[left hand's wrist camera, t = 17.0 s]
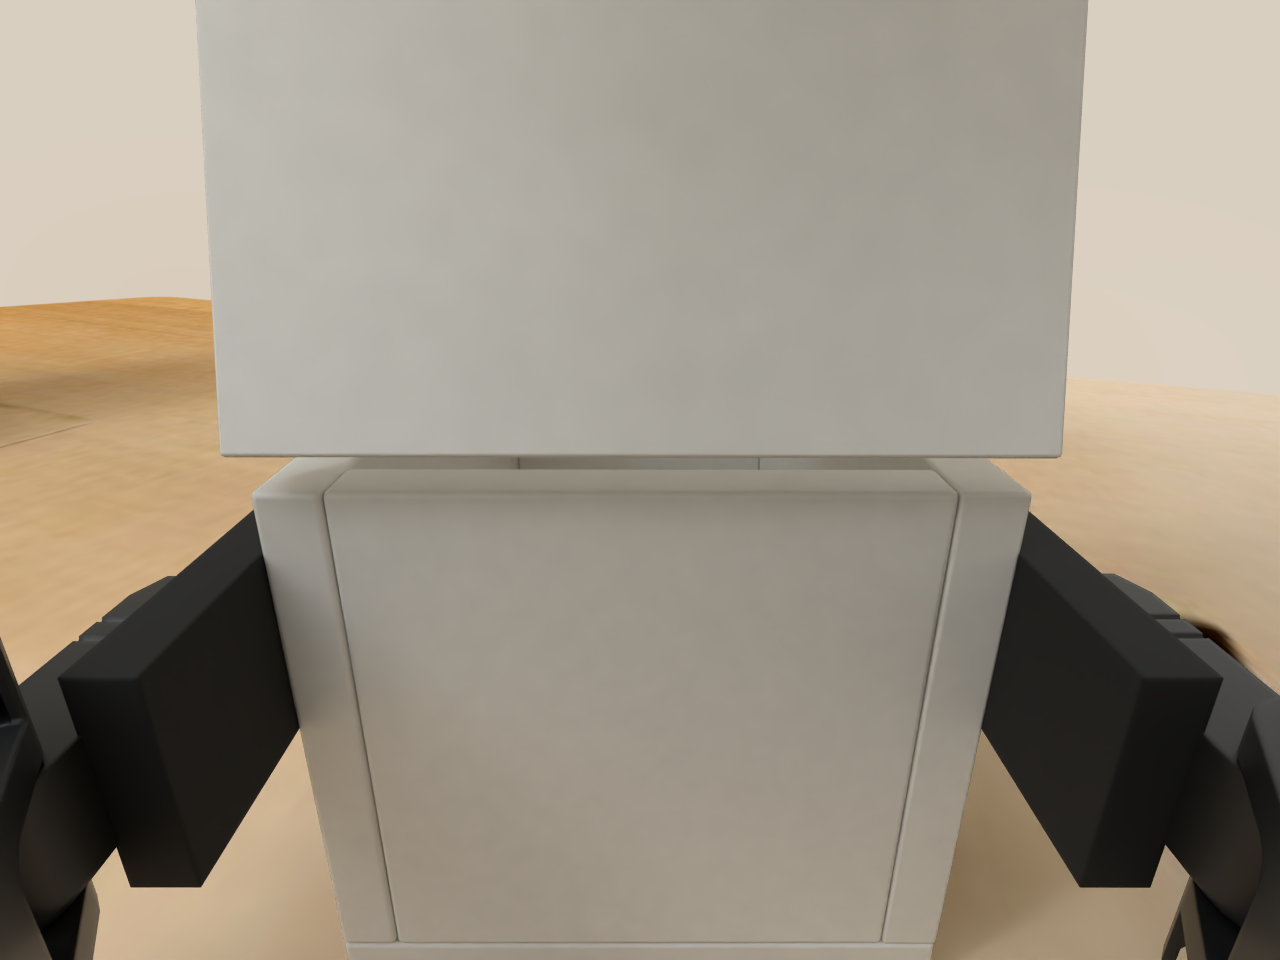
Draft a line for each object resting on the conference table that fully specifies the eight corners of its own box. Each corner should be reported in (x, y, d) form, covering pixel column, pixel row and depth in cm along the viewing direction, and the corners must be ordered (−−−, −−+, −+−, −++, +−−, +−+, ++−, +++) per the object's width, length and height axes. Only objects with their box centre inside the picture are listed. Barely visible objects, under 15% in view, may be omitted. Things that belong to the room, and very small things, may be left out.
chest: (503, 554, 26) (484, 300, 23) (774, 554, 26) (793, 301, 23) (350, 982, 12) (246, 492, 9) (928, 982, 12) (1034, 493, 9)
